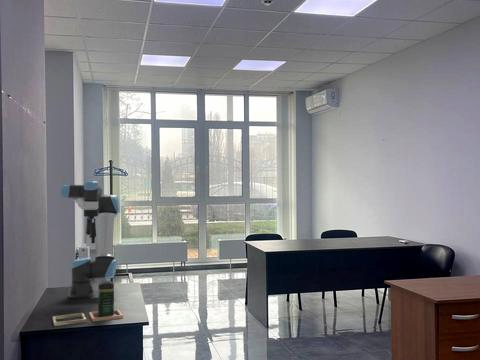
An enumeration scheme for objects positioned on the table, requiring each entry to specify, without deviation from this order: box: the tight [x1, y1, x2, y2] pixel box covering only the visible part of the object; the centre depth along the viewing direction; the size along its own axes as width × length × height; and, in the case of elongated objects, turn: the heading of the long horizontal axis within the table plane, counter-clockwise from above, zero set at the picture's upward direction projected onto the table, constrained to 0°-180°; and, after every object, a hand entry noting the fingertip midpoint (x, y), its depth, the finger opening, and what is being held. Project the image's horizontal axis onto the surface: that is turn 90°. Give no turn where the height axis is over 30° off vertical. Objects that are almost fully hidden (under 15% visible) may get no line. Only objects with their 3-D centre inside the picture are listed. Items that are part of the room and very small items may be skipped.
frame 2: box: [88, 308, 124, 322], centre depth 241 cm, size 13×15×2 cm
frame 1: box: [52, 312, 87, 327], centre depth 233 cm, size 13×15×2 cm
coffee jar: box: [97, 279, 115, 317], centre depth 241 cm, size 10×8×19 cm
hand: (90, 247), depth 254 cm, fingers open, 13 cm apart
